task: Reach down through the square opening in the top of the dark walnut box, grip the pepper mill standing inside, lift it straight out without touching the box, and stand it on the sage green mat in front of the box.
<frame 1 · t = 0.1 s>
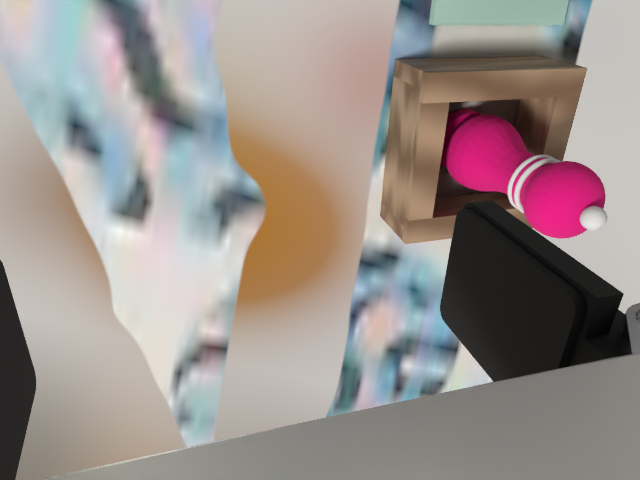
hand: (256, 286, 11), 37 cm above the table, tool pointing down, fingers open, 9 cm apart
pepper mill: (457, 137, 54), resting in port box
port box: (458, 138, 54), on the table
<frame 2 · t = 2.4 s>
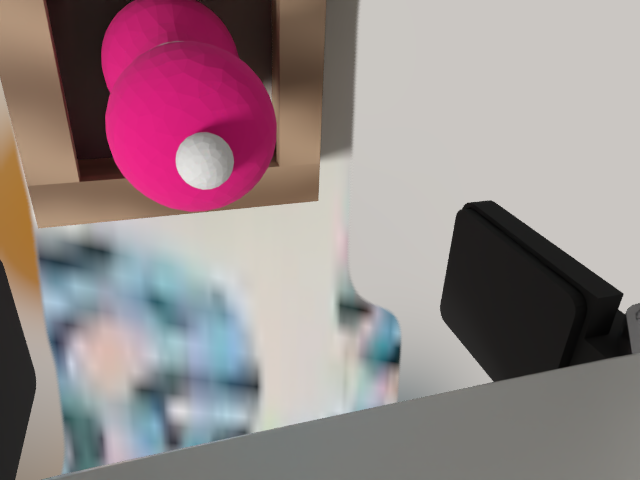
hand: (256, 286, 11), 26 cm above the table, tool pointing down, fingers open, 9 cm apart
pepper mill: (167, 51, 32), resting in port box
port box: (168, 52, 32), on the table
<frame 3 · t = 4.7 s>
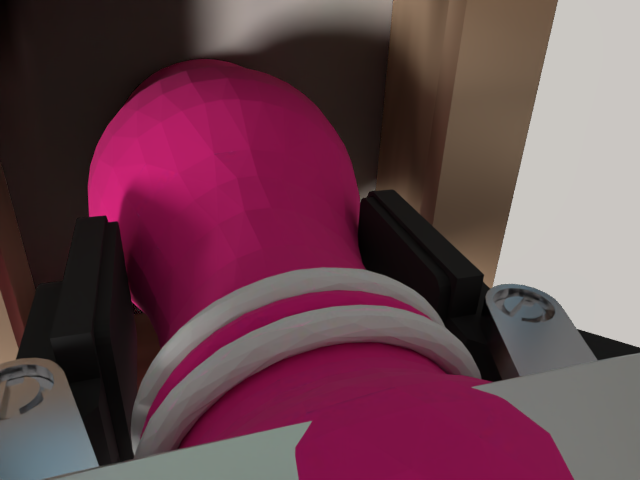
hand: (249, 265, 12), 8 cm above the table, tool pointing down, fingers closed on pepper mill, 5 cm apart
pepper mill: (208, 148, 19), resting in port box, touching gripper
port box: (209, 149, 18), on the table
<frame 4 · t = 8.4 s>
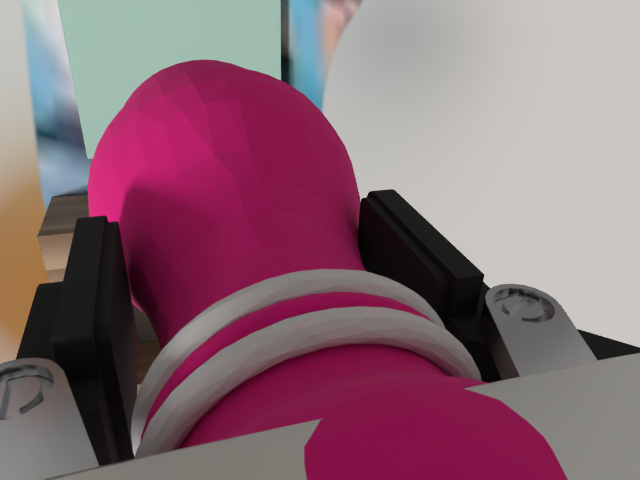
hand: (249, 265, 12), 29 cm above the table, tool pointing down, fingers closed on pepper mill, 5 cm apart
pepper mill: (208, 149, 19), point 21 cm above the table, touching gripper
green mat: (179, 51, 36), on the table
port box: (175, 275, 44), on the table
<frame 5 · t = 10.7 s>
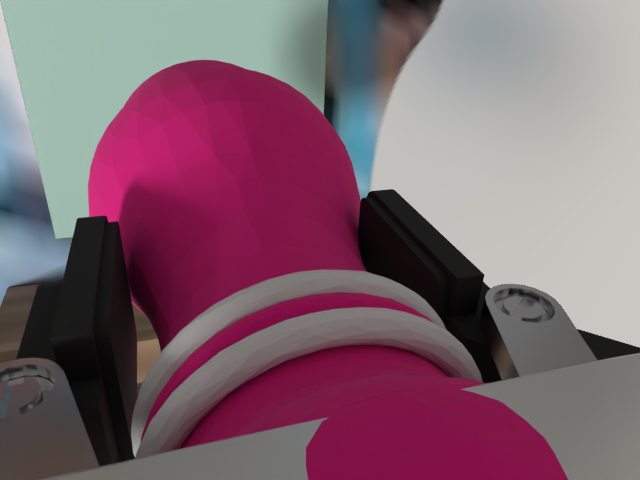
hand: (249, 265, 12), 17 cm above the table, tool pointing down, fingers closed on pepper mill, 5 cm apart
pepper mill: (208, 149, 19), point 9 cm above the table, touching gripper
green mat: (184, 90, 26), on the table
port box: (177, 373, 34), on the table
when the fingers open (10 cm above the table, at t = 12.5 s): pepper mill drops 1 cm, resting on green mat.
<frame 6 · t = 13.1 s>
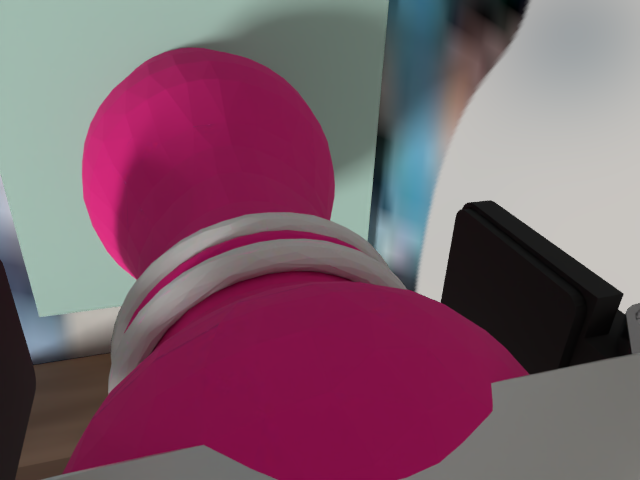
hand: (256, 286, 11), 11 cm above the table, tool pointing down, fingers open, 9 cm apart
pepper mill: (198, 133, 20), point 1 cm above the table, touching green mat
green mat: (202, 131, 20), on the table
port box: (188, 459, 28), on the table
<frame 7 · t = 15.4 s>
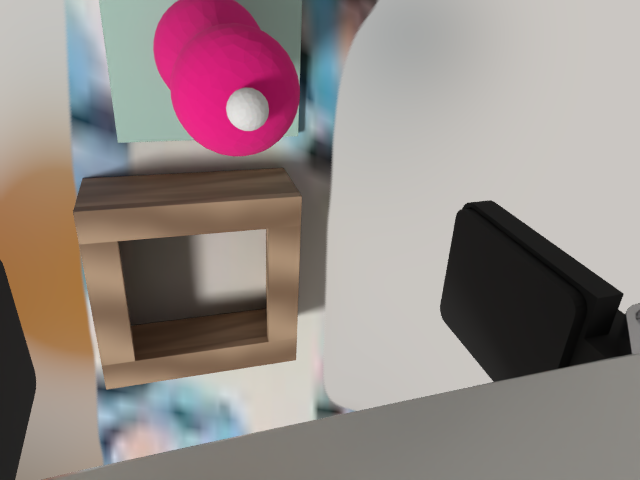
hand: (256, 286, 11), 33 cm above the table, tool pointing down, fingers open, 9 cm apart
pepper mill: (204, 43, 38), point 1 cm above the table, touching green mat
green mat: (206, 44, 39), on the table
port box: (194, 257, 47), on the table
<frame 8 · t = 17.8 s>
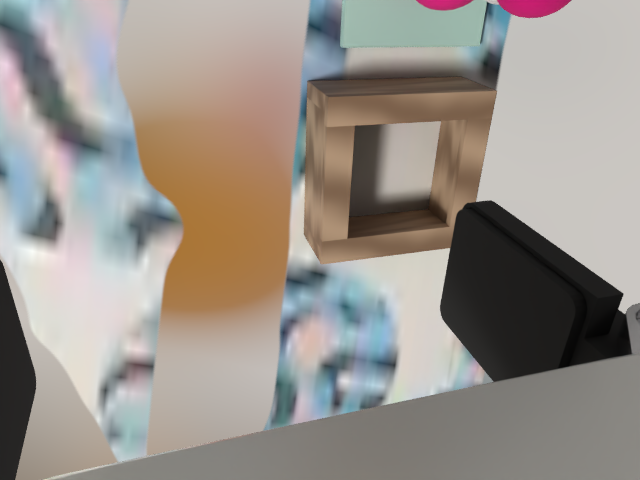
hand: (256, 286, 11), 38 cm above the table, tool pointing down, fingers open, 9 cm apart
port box: (380, 157, 54), on the table
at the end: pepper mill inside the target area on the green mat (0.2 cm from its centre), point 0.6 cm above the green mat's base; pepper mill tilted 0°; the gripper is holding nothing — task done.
